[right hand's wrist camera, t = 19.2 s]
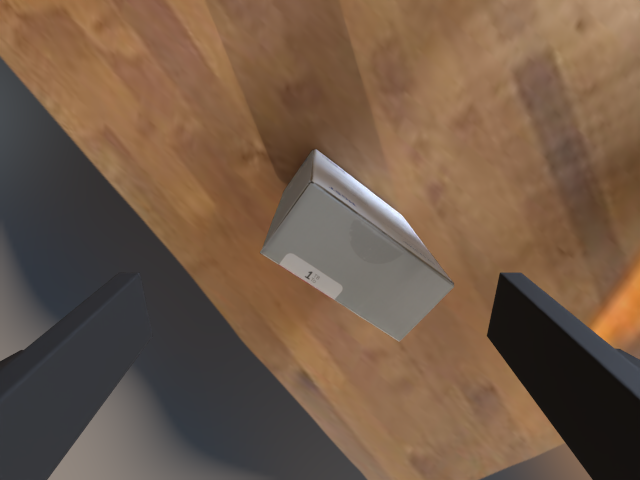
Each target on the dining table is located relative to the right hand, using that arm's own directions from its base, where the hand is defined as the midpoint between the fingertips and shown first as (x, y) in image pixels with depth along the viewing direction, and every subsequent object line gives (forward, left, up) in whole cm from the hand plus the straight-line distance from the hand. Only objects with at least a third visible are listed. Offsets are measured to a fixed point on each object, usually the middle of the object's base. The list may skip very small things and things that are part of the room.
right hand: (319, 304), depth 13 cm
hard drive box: (-2, +6, -35) cm, 35 cm away
